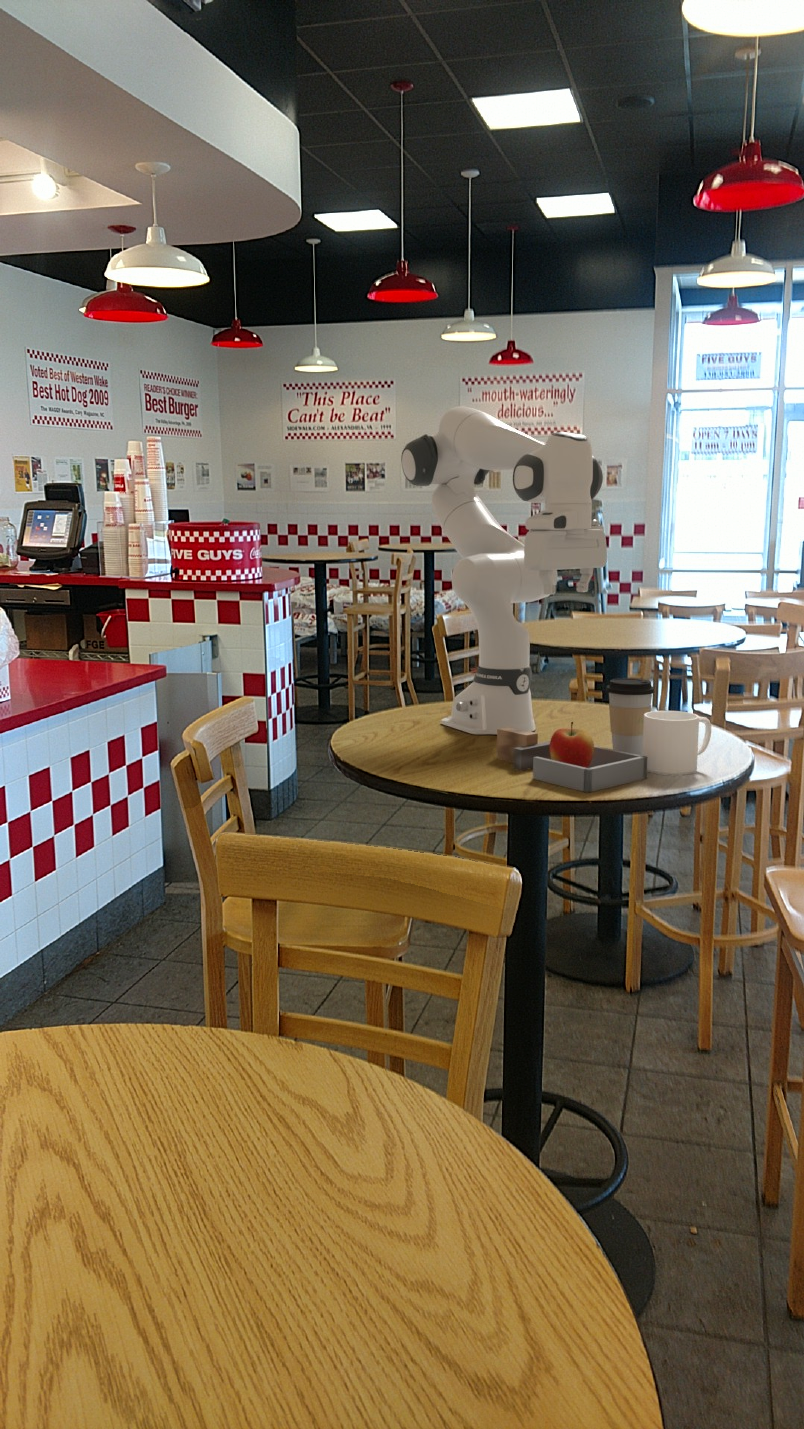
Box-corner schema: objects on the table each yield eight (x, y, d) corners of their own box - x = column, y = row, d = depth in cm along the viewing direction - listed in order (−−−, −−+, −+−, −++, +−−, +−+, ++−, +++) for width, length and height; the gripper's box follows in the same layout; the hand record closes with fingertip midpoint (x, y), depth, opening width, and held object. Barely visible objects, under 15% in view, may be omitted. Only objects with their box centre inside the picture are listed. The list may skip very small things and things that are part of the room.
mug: (650, 776, 195) (652, 721, 193) (635, 763, 205) (637, 711, 203) (717, 775, 196) (720, 720, 194) (700, 762, 206) (702, 710, 204)
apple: (594, 770, 200) (595, 717, 198) (592, 780, 192) (593, 726, 190) (551, 768, 201) (552, 716, 200) (547, 778, 194) (548, 724, 192)
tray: (532, 778, 193) (533, 757, 193) (591, 765, 203) (592, 745, 202) (587, 792, 183) (588, 770, 183) (646, 778, 193) (647, 756, 193)
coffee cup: (652, 762, 206) (655, 685, 203) (603, 760, 208) (605, 684, 205) (651, 751, 215) (654, 678, 212) (604, 749, 217) (606, 676, 214)
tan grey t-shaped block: (483, 761, 207) (484, 731, 206) (520, 754, 214) (520, 724, 212) (520, 770, 200) (521, 739, 199) (557, 762, 206) (558, 732, 205)
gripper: (590, 519, 211) (588, 589, 214) (519, 520, 198) (517, 594, 201) (615, 519, 207) (613, 591, 209) (544, 520, 194) (542, 596, 196)
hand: (566, 593), depth 205 cm, fingers open, 8 cm apart
